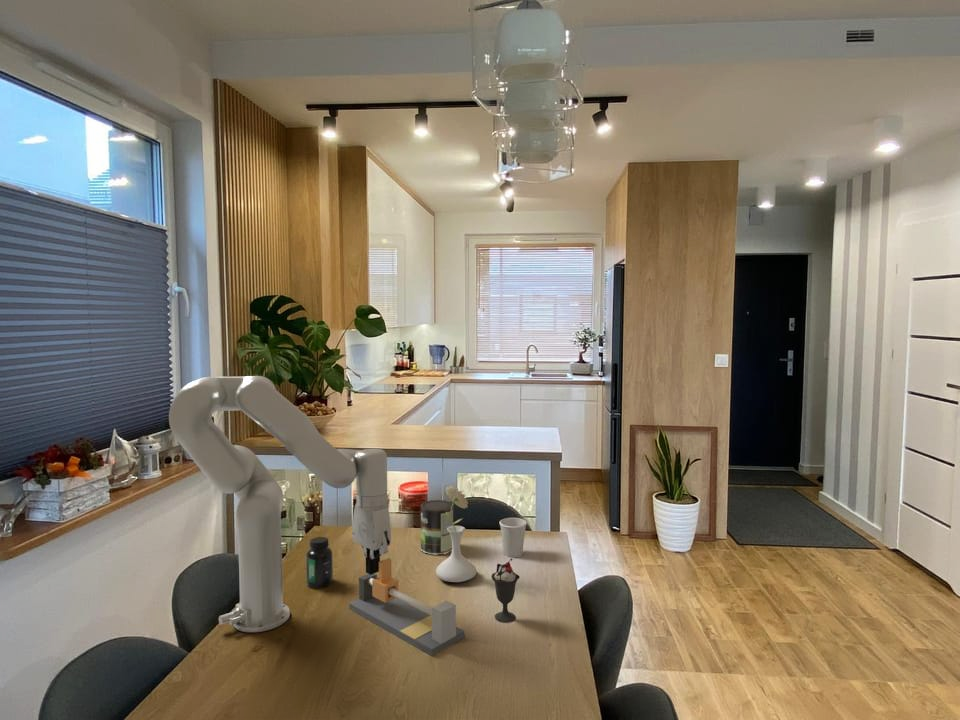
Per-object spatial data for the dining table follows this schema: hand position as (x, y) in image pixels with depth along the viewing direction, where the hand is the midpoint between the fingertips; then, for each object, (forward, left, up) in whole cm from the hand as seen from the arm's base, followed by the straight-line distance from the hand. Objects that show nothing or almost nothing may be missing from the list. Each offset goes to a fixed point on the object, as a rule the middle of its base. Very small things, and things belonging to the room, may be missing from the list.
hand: (373, 572), depth 143 cm
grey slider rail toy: (0, -12, -9) cm, 15 cm away
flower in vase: (+26, -3, -9) cm, 28 cm away
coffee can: (+36, +15, -9) cm, 40 cm away
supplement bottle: (-2, +21, -9) cm, 23 cm away
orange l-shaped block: (0, -5, -5) cm, 7 cm away
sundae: (+18, -28, -9) cm, 34 cm away
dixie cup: (+49, -5, -9) cm, 50 cm away
